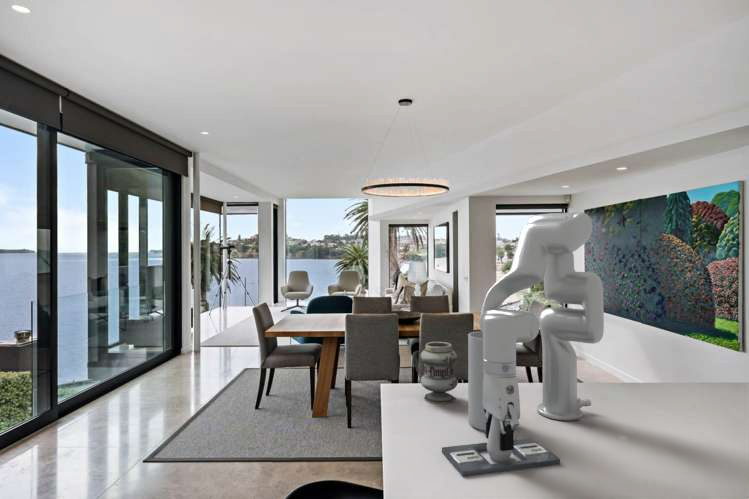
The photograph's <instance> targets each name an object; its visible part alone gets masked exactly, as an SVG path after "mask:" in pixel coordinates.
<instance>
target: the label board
mask: <svg viewBox="0 0 749 499" xmlns="http://www.w3.org/2000/svg"><path fill="white" fill-rule="evenodd" d="M484 451H487V442H480V443H479V442H478V443H470V444H462V445H453V446H452V445H451V446H444V447H443V446H442V447H441V454H442V455H444V457H445V458H446V459H447V460H448V461H449V463H450V464H451V465H452V467H454V469H456V471H457V472H458V474H460V476H461V477H462V478H463V477H473V476H481V475H487V474H489V475H490V474H495V473H502V472H503V473H504V472H511V471H520V470H529V469H535V468H536V469H537V468H541V467H542V468H543V467H549V466H559V465H561V458H560V457H558V456H556V455H555V454H554V453H552V452H551V451H549V450H548V449H547V448H546V447H544V446H542V445H541V444H540V443H539V442H538V441H536V440H534V439H533V438H531V437H525V438H517V439H515V438H514V449H513V450H512V453H511V454H513V455H514V456H516V457H517V458H518V459H519V460H515V461H506V462H496V463H491V462H489V461H488V459H486V457H485V456H483V455H482V454H481V453H480V452H484Z"/></svg>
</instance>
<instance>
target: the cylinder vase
mask: <svg viewBox="0 0 749 499" xmlns="http://www.w3.org/2000/svg"><path fill="white" fill-rule="evenodd" d="M467 337H468V338H467V339H468V340H467V342H468V343H467V346H468V350H467V351H468V352H467V356H468V357H467V358H468V362H467V363H468V364H467V366H468V367H467V369H468V374H467V375H468V376H467V378H468V383H467V384H468V386H467V388H468V389H467V390H468V392H467V393H468V395H467V397H468V399H467V403H468V404H467V405H468V408H467V410H468V412H467V413H468V414H467V415H468V423H469V424H470V426H471V427H473V428H475V429H477V430H479V431H483V432H486V422H488V421H486V420H485V412H484V407H483V404H482V388H483V375H484V373H483V333H482V332H481V330H479V331H473V332H470V333H468V336H467ZM506 417H507V419H508V418H509V417H508V416H506ZM507 423H508V424H509V421H508V422H507Z"/></svg>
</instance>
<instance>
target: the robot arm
mask: <svg viewBox="0 0 749 499" xmlns="http://www.w3.org/2000/svg"><path fill="white" fill-rule="evenodd" d="M592 231H593V222H592V219H591V217H590V215H588V214H587V213H585V212H582V211H576V212H575V211H574V212H573V211H572V212H557V213H555V212H553V213H541V214H536V215H534V216H531V217H530V218H528V221H527V224H526V225H524V226H523V227H522V228H521V230H520V232H519V237H518V240H517V243H516V248H515V251H514V253H513V254H514V255H513V258H512V263H511V265H510V269H509V270H508V271H507V272H506V273H505V274H504V275H503V276H502V277H500V278H499V279H498V280H497V281H495V283H494V284H493V285H492V286H491V287H490V289H488V291H487V293H486V294H485V297H484V300H483V304H482V306H481V309H480V310H481V311H480V315H479V319H478V320H479V322H478V324H479V331H481V332H482V333H483V373H484V375H483V388H482V404H483V407H484V412H485V420H486V421H488V422H486V431H485V438H486V439H487V440H488V437H489V431H490V426H491V421H492V415H493V416H495V417H496V418H498V419H499V420H500V426H501V431H502V433H500V450H501V451H508V450H513V449H514V439H515V438H514V436H515V433H516V430H517V429H518V427H519V426H520V418H521V404H520V403H521V400H520V390H519V382H518V378H517V376H516V375H517V343H522V344H523V343H529V342H532V341H533V340H534V339H536V338H537V336H538V334H539V332H540V336H541V345H542V347H541V348H542V402H541V403H540V404H538V405H537V406H536V412H537V413H538V414H540V415H542V416H543V417H546V418H548V419H552V420H557V421H565V422H566V421H567V422H568V421H577V420H580V419H582V418H583V417H584V416H583V415H584V414H583V411H582V410H581V409H582V408H583V407H590V406H592V401H591V400H590V399H582V398H580V397H578V364H577V363H578V356H577V352H576V350H575V349H574V347H573V345H572V344H571V342H575V343H576V342H577V343H583V344H591V345H592V344H593V345H594V344H597V343H600V342H601V340H602V339H603V337H604V332H605V331H604V329H605V326H604V325H605V323H604V322H605V321H604V319H605V317H604V312H605V311H604V287H603V282H602V280H601V277H600V276H599V275H598V274H597V273H594V272H591V271H576V270H575V269H576V268H575V255H574V252H575V251H577V250H578V249H579V248H581V247H582V246H583V245H585V244H586V243H587V242H588V241H589V239H590V238H591V236H592ZM542 282H543V294H544V297H545V299H546V300H547V301H549V302H551V303H556V304H566V305H567V304H568V305H577V306H578V305H580V306H581V307H582V308H571V307H561V306H560V307H559V306H550V307H547V308H544V309H543V310H541V312H540V314H539V318H537V316H536V315H535V314H533V313H532V312H530V311H525V310H516V309H507V308H506V309H505V308H501V307H502V305H503V303H504V302H505V301H506V300H507V299H508V298H510V297H511V296H512V295H514V294H516V293H518V292H522V291H524V290H526V289H529V288H533V287H534V286H536V285H539V284H540V283H542ZM505 416H508V417H509V418H508V419H505ZM508 421H509V424H508V425H507V426H506V427H505V422H508Z"/></svg>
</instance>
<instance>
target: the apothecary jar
mask: <svg viewBox="0 0 749 499" xmlns="http://www.w3.org/2000/svg"><path fill="white" fill-rule="evenodd" d="M420 358H421V361H423V362H424V364H423V365H424V373H423V374H424V375H422V376H421V379H420V384H421V386H422V387H423V388H424V389H425V390H428V391H429V392H428V393H426V394H425V395H424V397H423V398H424V400H425V401H427V402H429V403H433V404H441V405H443V404H449V403H452V402H453V401H455V397H454V395H452V394H451V393H449V392H450V391H453V390H454V389H456V387H457V386H458V382H459V381H458V378H457V376H456V375H454V372H455V371H454V362H456V361H457V358H458V355H457V353H456V351H455V350H454V349H453V346H452V343H450V342H445V341H444V342H443V341H430V342H427V343H426V344H425V348H424V350H422V351H421V353H420Z"/></svg>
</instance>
